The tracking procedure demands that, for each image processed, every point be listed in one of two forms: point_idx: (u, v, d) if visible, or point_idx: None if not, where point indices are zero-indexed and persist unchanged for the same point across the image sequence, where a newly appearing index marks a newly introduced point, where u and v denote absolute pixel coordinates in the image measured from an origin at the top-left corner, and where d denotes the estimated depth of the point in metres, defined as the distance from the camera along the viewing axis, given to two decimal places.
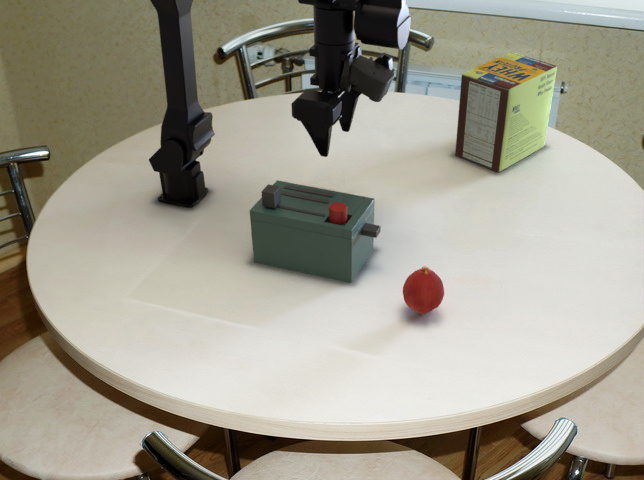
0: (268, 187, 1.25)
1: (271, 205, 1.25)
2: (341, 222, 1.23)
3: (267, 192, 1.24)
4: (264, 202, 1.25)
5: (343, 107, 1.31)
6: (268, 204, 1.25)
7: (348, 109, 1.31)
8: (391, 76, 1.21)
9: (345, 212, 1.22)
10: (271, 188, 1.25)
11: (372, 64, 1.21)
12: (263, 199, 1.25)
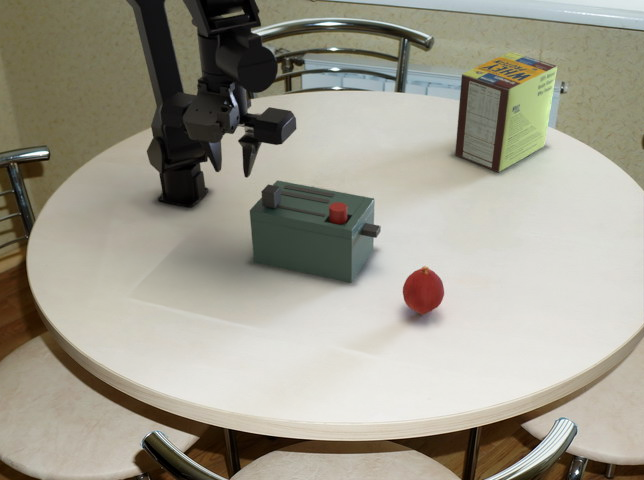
0: (268, 187, 1.25)
1: (271, 205, 1.25)
2: (341, 222, 1.23)
3: (267, 192, 1.24)
4: (264, 202, 1.25)
5: None
6: (268, 204, 1.25)
7: None
8: (201, 123, 1.11)
9: (345, 212, 1.22)
10: (271, 188, 1.25)
11: (214, 107, 1.13)
12: (263, 199, 1.25)
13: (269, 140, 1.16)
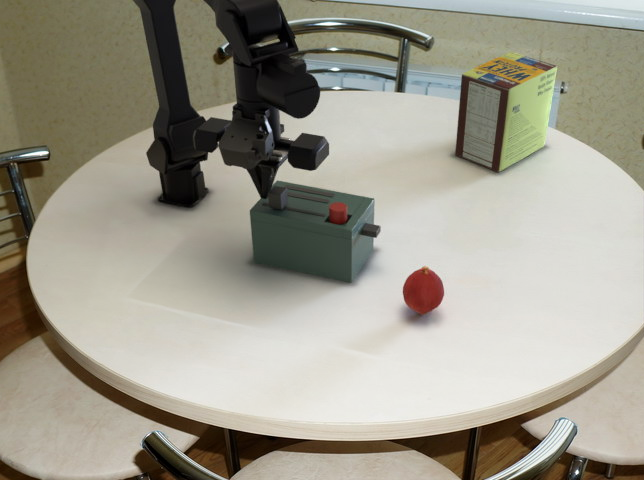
0: (275, 188, 1.24)
1: (278, 206, 1.24)
2: (341, 222, 1.23)
3: (273, 194, 1.23)
4: (270, 203, 1.25)
5: None
6: (274, 205, 1.25)
7: None
8: (237, 150, 1.12)
9: (345, 212, 1.22)
10: (278, 189, 1.24)
11: (249, 133, 1.13)
12: (270, 200, 1.24)
13: (303, 166, 1.16)
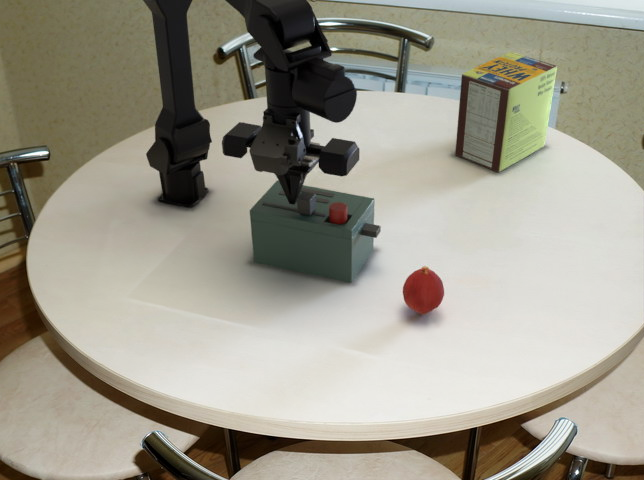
0: (303, 194, 1.23)
1: (307, 212, 1.23)
2: (341, 222, 1.23)
3: (302, 199, 1.22)
4: (299, 209, 1.24)
5: None
6: (303, 211, 1.23)
7: None
8: (268, 156, 1.11)
9: (345, 212, 1.22)
10: (306, 195, 1.23)
11: (280, 139, 1.12)
12: (298, 206, 1.23)
13: (334, 171, 1.15)
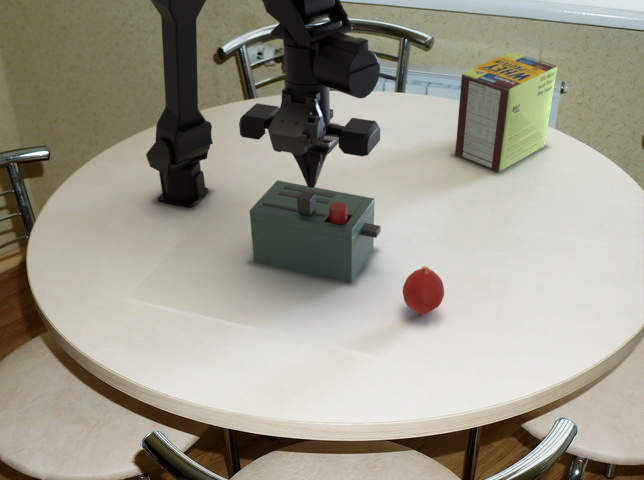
0: (303, 194, 1.23)
1: (307, 212, 1.23)
2: (341, 222, 1.23)
3: (302, 199, 1.22)
4: (299, 209, 1.24)
5: None
6: (303, 211, 1.23)
7: None
8: (287, 135, 1.08)
9: (345, 212, 1.22)
10: (307, 195, 1.23)
11: (300, 118, 1.09)
12: (298, 206, 1.23)
13: (355, 151, 1.12)
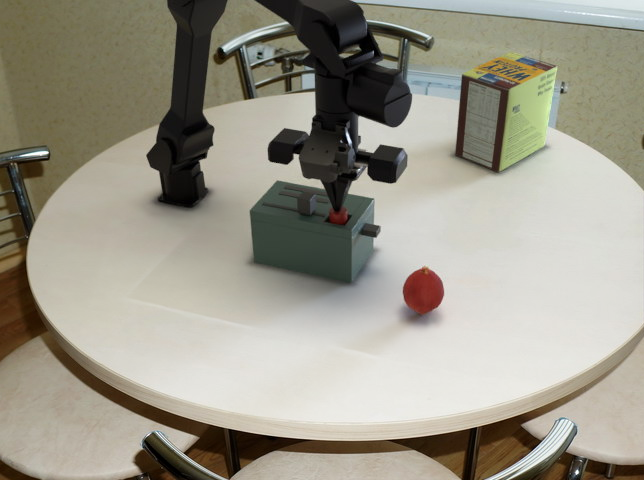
0: (303, 194, 1.23)
1: (307, 212, 1.23)
2: None
3: (302, 199, 1.22)
4: (299, 209, 1.24)
5: None
6: (303, 211, 1.23)
7: None
8: (318, 163, 1.09)
9: (345, 215, 1.23)
10: (307, 195, 1.23)
11: (330, 146, 1.11)
12: (298, 206, 1.23)
13: (383, 179, 1.14)
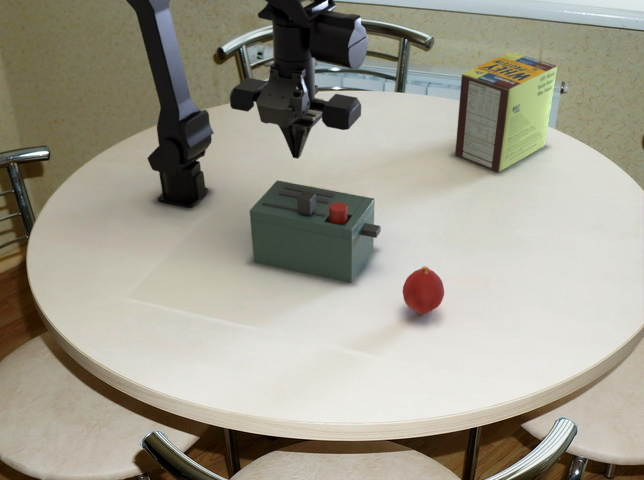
0: (303, 194, 1.23)
1: (307, 212, 1.23)
2: (341, 222, 1.23)
3: (302, 199, 1.22)
4: (299, 209, 1.24)
5: None
6: (303, 211, 1.23)
7: None
8: (274, 107, 1.17)
9: (345, 212, 1.22)
10: (307, 195, 1.23)
11: (286, 92, 1.18)
12: (298, 206, 1.23)
13: (336, 125, 1.21)
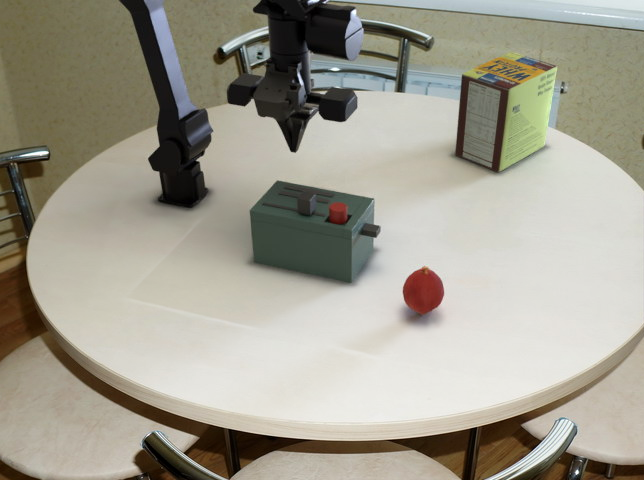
0: (303, 194, 1.23)
1: (307, 212, 1.23)
2: (341, 222, 1.23)
3: (302, 199, 1.22)
4: (299, 209, 1.24)
5: None
6: (303, 211, 1.23)
7: None
8: (271, 101, 1.17)
9: (345, 212, 1.22)
10: (307, 195, 1.23)
11: (283, 85, 1.19)
12: (298, 206, 1.23)
13: (333, 118, 1.22)
